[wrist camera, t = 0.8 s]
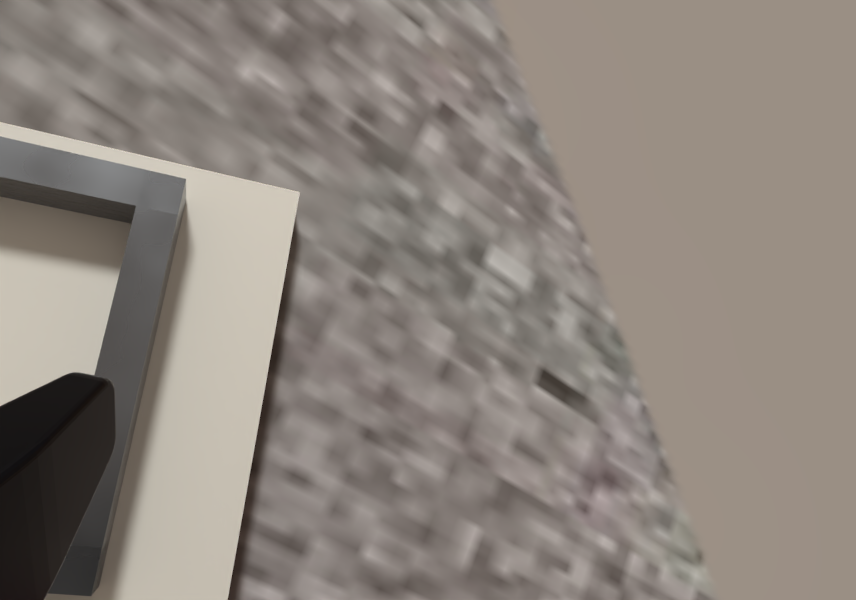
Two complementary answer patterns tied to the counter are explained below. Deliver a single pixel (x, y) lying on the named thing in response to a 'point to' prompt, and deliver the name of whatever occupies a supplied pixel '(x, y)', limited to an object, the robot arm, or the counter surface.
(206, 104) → the counter surface
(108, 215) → the socket plate
